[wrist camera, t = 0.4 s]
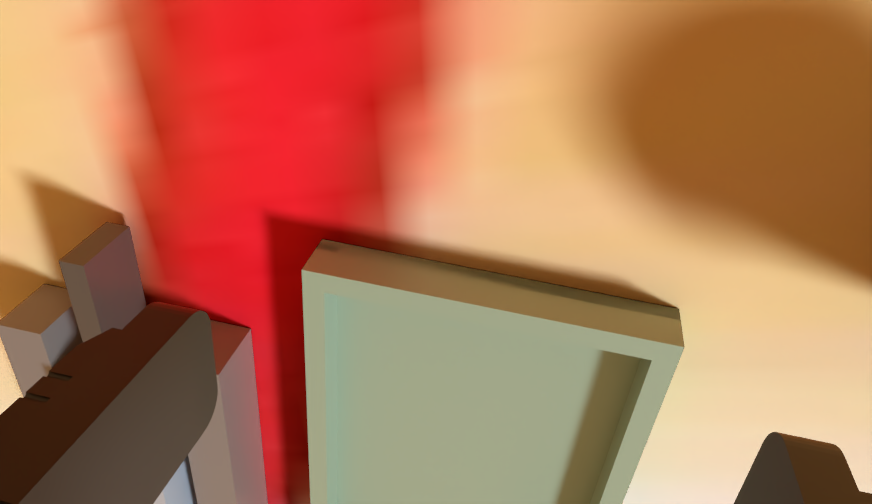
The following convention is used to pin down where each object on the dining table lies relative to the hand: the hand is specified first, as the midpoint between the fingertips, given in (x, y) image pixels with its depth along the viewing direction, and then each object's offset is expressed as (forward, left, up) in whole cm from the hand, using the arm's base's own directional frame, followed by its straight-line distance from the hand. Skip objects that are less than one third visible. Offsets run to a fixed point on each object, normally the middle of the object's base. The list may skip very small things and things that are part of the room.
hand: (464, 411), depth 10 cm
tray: (+21, -1, -17) cm, 27 cm away
